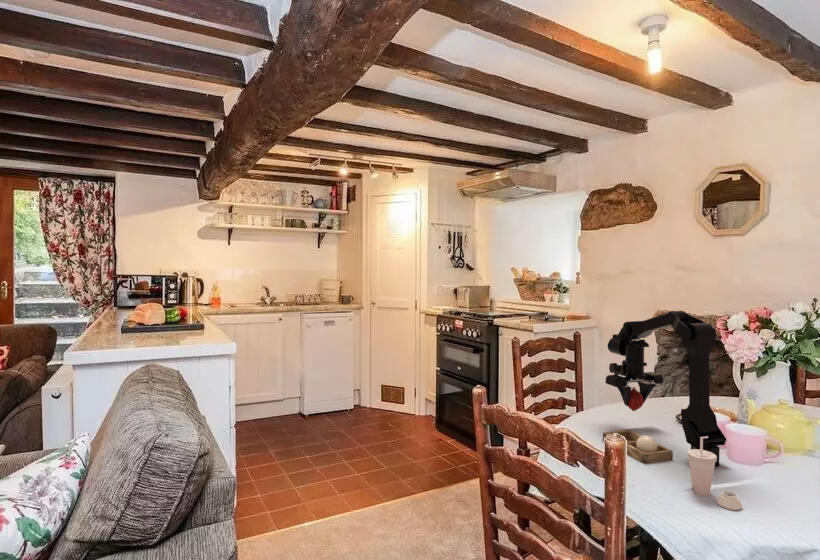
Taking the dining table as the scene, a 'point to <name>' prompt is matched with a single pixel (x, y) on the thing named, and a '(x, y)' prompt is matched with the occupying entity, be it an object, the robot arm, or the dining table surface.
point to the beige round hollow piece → (729, 500)
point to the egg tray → (649, 457)
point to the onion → (635, 400)
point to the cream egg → (646, 444)
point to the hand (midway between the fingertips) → (634, 404)
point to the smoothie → (701, 469)
